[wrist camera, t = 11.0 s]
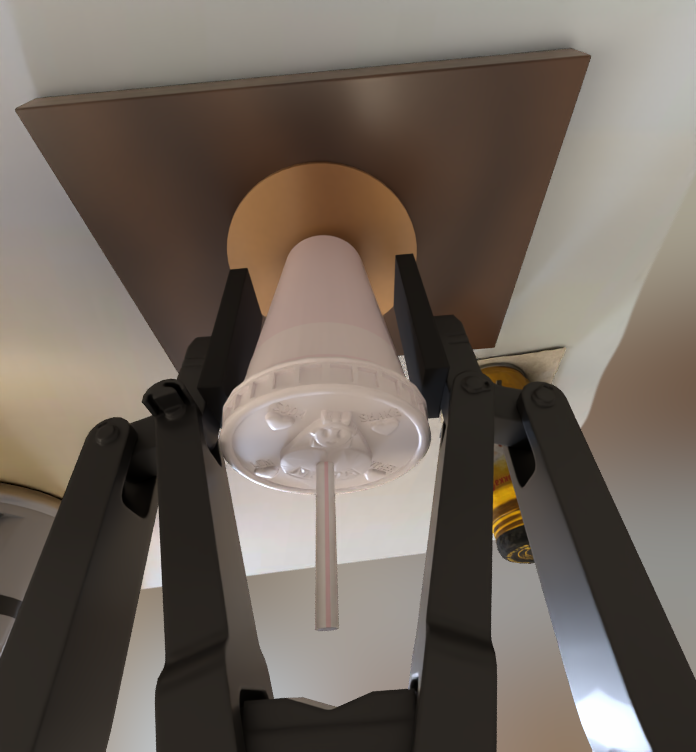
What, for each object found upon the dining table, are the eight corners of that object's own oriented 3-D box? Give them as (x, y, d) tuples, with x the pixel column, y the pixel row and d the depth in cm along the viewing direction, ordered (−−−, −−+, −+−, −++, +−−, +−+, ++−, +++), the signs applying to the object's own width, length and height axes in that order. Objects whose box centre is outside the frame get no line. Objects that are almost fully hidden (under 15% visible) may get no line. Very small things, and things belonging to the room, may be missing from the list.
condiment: (442, 364, 26) (496, 540, 18) (565, 345, 25) (677, 520, 17) (440, 420, 32) (481, 575, 24) (541, 406, 31) (618, 561, 23)
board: (184, 357, 24) (178, 377, 23) (34, 97, 14) (9, 110, 13) (487, 332, 24) (495, 350, 23) (572, 47, 13) (595, 55, 12)
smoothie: (256, 317, 19) (199, 648, 10) (253, 192, 15) (137, 600, 5) (375, 328, 20) (422, 637, 11) (408, 214, 16) (538, 589, 6)
